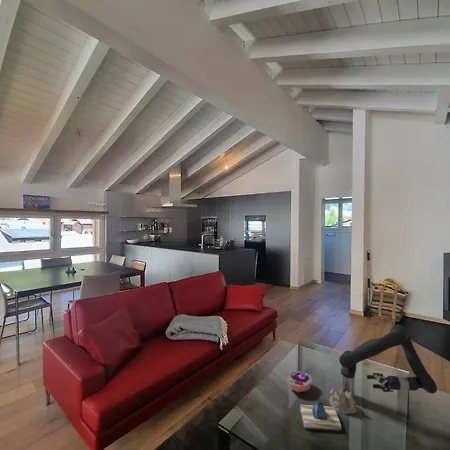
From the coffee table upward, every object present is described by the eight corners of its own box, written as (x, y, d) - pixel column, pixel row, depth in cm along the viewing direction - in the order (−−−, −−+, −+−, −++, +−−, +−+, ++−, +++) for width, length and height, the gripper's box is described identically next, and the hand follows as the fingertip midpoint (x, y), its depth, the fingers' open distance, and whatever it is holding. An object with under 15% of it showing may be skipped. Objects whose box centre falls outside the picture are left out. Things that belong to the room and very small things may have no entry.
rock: (359, 414, 175) (358, 391, 175) (334, 414, 176) (333, 391, 176) (350, 398, 190) (349, 378, 190) (327, 398, 192) (326, 378, 192)
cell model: (281, 386, 204) (281, 371, 203) (302, 378, 212) (302, 365, 212) (296, 400, 189) (296, 385, 188) (317, 391, 197) (317, 377, 196)
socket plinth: (300, 410, 179) (300, 404, 179) (333, 412, 177) (333, 406, 177) (304, 428, 165) (304, 422, 164) (341, 431, 162) (341, 425, 162)
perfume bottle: (322, 414, 174) (322, 397, 173) (326, 422, 168) (326, 404, 167) (313, 414, 174) (313, 397, 173) (316, 422, 168) (316, 404, 167)
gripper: (392, 369, 168) (365, 368, 169) (404, 384, 153) (375, 383, 155) (391, 381, 168) (365, 379, 170) (404, 397, 154) (375, 395, 156)
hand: (370, 381), depth 163 cm, fingers open, 8 cm apart
